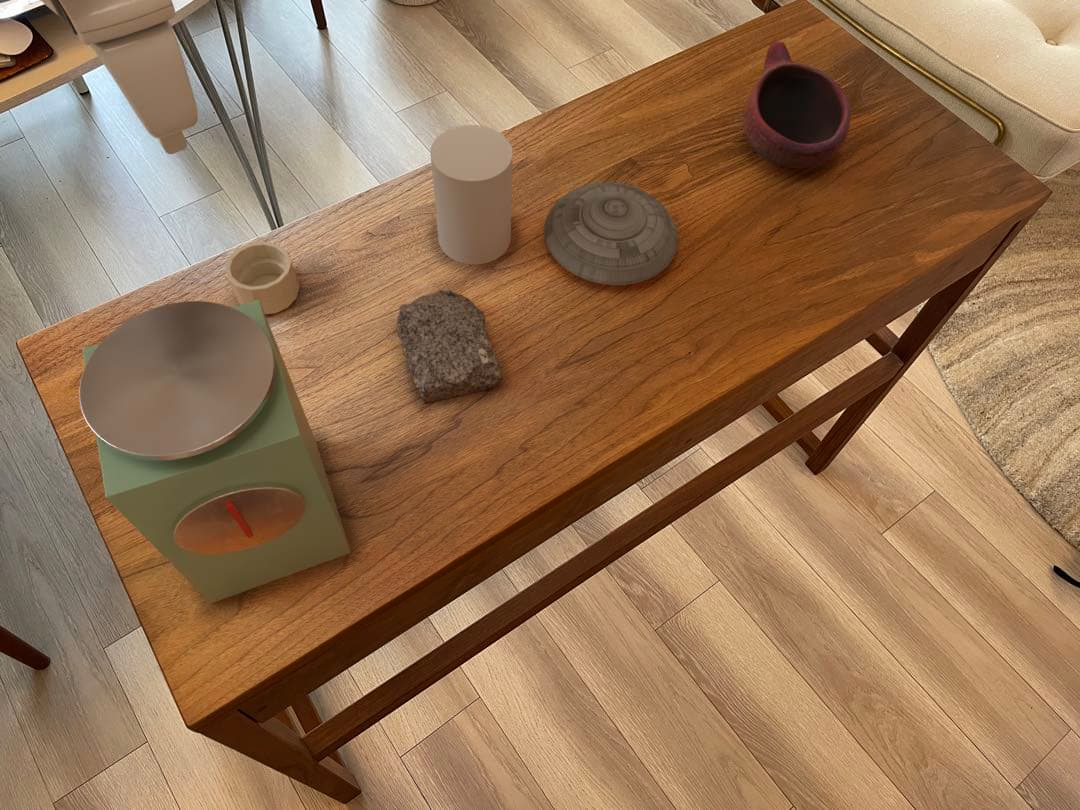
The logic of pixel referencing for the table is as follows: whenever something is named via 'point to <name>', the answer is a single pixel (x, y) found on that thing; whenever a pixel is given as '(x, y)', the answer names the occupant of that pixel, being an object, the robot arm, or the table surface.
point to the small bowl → (263, 276)
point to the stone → (447, 346)
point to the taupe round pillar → (472, 193)
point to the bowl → (795, 113)
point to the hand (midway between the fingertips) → (152, 114)
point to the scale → (210, 446)
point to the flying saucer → (611, 234)
